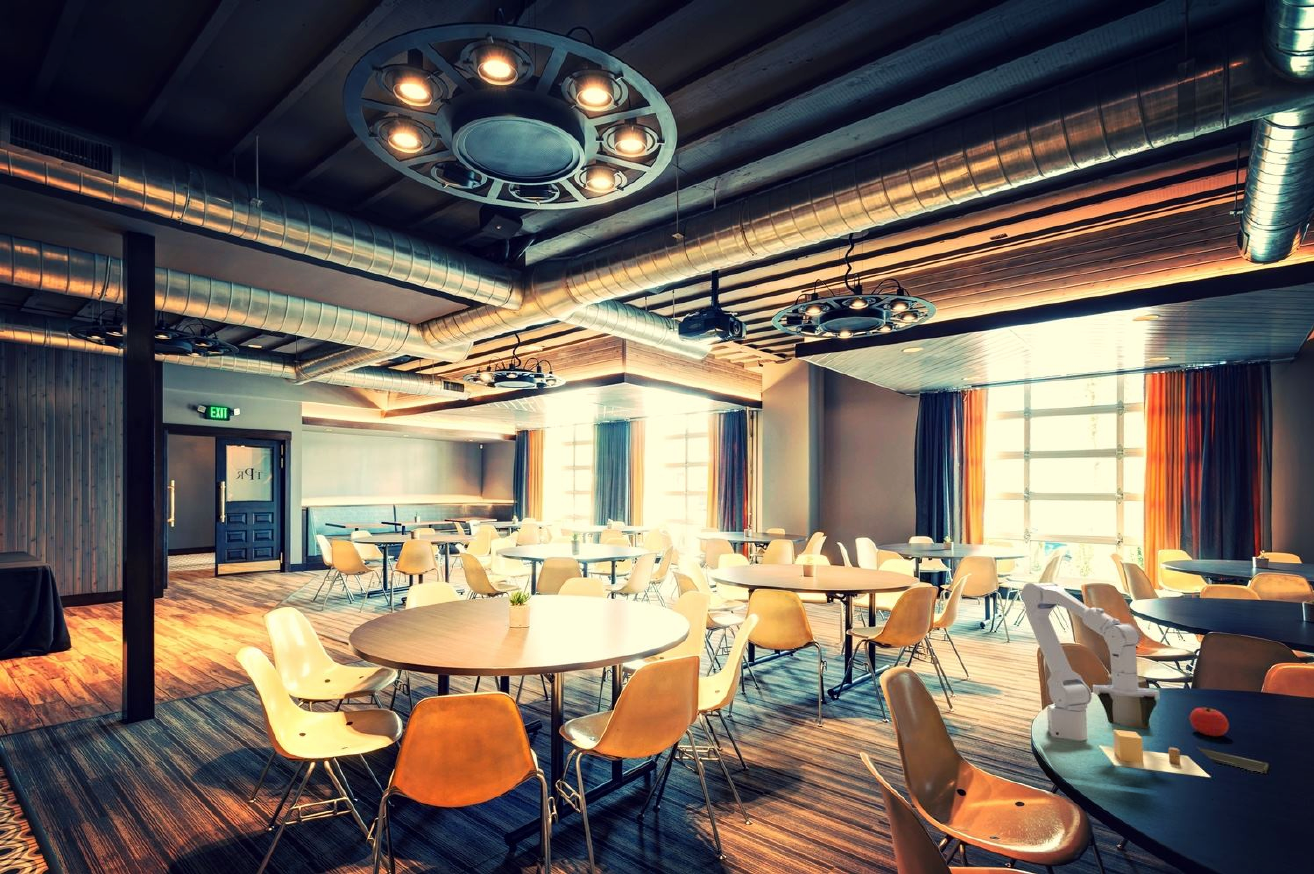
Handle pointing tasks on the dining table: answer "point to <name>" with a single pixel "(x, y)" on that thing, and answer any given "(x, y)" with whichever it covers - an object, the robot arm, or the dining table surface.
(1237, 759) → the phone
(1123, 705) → the pillar candle
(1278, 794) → the dining table surface
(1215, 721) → the tomato
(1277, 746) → the dining table surface
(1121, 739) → the tan foam cube
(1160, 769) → the board
